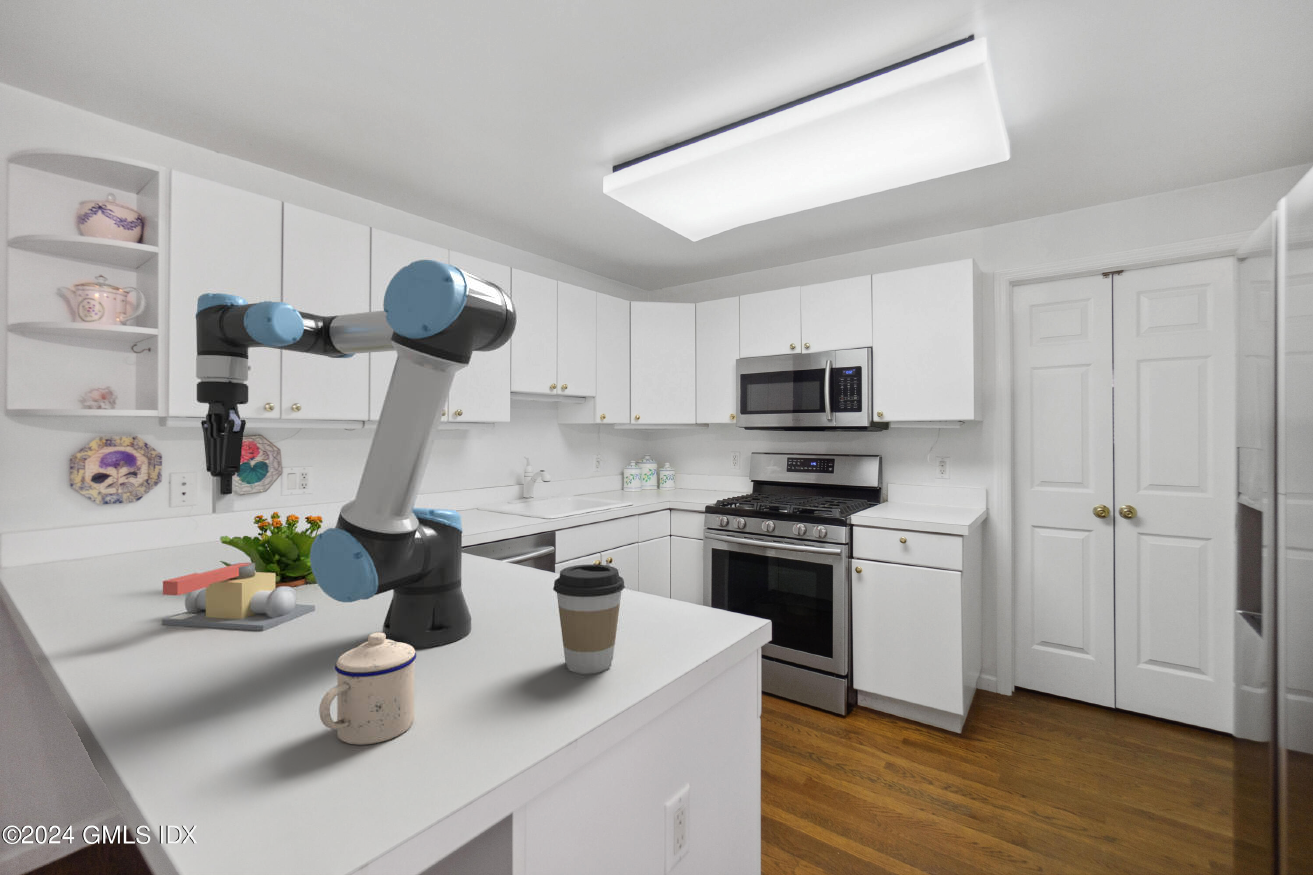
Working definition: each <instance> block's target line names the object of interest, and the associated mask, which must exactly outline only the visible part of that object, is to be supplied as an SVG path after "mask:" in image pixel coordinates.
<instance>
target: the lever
mask: <svg viewBox="0 0 1313 875" xmlns="http://www.w3.org/2000/svg"><path fill="white" fill-rule="evenodd" d="M255 572H256V571H255V563H251V562H241V563H240V562H239V563H233V564H232V563H231V565H229V566H224V567H220V568H215V569H212V570H208V571H204V572H200V573H199V572H194V573H191V574H190V573H189V574H186V575H183V576H178V577H173V578H170V579H166V580H163V581H162V596H163V595H164V596H182V595H184V594H188V592H192V591H196V590H199V589H203V588H206V587H209V584H211V583H215V582H219V581H222V580H226V579H230V580H239V579H247V578H251V577H254V576H255Z"/></svg>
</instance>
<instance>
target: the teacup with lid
mask: <svg viewBox="0 0 1313 875" xmlns="http://www.w3.org/2000/svg"><path fill="white" fill-rule="evenodd" d="M416 658H417V653H416V650H415V648H413V647H412V646H410V645H408V644H406V643H400V642H395V641H392V640H389V639H386V635H385V634H384V633H382V632H373V633H371V634H369V635H368V637H367V641H365V642H363V643H361V644H360V645H359V646H357V647H354V648H352V649H350V650H347V651H346V652H344V653H343V654H342V655H340V656H339V657H338V659H337V661H336V663H335V665H334V670H335V671H336V674H337V675H336V681H337V685H334V686H333V687H331V688H330V689H329V690H328V691H327V692H326V693H325V694H324V696H323V697H322V699H321V700H320V702H319V703H320V704H319V707H318V709H319V710H318V714H319V719H320V720H321V723H322V724H323V725H324V727H326V728H327V729H331V730H337V731H336V732H337V737H338V739H340V741H342V742H344V743H346V744H350V745H356V746H364V745H365V746H366V745H373V744H379V743H382V742H386V741H389V740H392V739H394V738H397V737H399V736H401V735H402V734H404V733H405V732H406V731H408V730H409V729H410V728H411V726H412V725H413V723H414V721H415V660H416ZM336 697H337V700H336V701H337V704H336V706H337V707H336V708H337V709H336V711H337V713H336V714H337V716H336V720H337V721H334V719H332V716H331V705H332V702H333V700H334V699H335V698H336Z"/></svg>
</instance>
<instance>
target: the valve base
mask: <svg viewBox="0 0 1313 875" xmlns="http://www.w3.org/2000/svg"><path fill="white" fill-rule="evenodd" d="M275 574H276V573H262V572H256V571H255V576H254V577H251V578H247V579H239V580H230V579H226V580H222V581H219V582H215V583H211V584H209V587H206V588H203V589H199V590H196V591H192V592H188V593H186V596H185V600H184V606H185V607H184V608H185V610H186V611H184V612H182V613H181V612H180V613H178V614H175V615H172V616H169V617H165V618H162V620H161V622H162V626H163V625H165V626H166V625H167V626H182V627H195V628H196V627H197V628H210V629H211V628H214V629H227V630H228V629H231V630H243V631H245V630H246V631H256V632H257V631H261V632H263V631H266V630H269V629H272V628H273V627H274V628H275V627H276V626H279V625H281V624H283V623H286V622H288V621H289V622H290V621H291V620H294V619H297V618H299V617H301V616H304V615H306V614H309V613H311V612H313V611H315V610H316V605H313V604H297V600H298V598H297V593H296V591H295V589H294V587H286V586H280V587H277V588H275Z"/></svg>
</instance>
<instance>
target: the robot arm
mask: <svg viewBox="0 0 1313 875" xmlns="http://www.w3.org/2000/svg"><path fill="white" fill-rule="evenodd" d="M382 304H383V305H382V306H383V310H376V311H374V310H373V311H366V312H357V313H348V314H347V313H345V314H341V315H329V316H328V315H327V316H325V315H318V314H314V313H309V312H304V311H301V310H298V309H296V308H295V307H293V306H292V305H291V304H289V303H287V302H283V301H271V300H264V301H260V302H255V303H249V302H248V300H246V299H245V298H244V297H242V296H237V295H235V294H234V295H233V294H228V293H220V292H219V293H213V292H212V293H211V292H210V293H209V292H207V293H203V294H201V295H200V296H198V298H197V304H196V306H197V309H196V313H195V320H196V322H195V327H196V329H195V330H196V332H195V334H196V357H195V358H196V359H195V361H196V363H195V378H197V379H198V380H200V381H198V382H197V383H196V401H197V403H200V404H207V405H208V410H207V413H206V414H205V420H204V419H202V420H201V422H200V424H201V429H202V432H203V443H204V444H203V445H204V455H205V464H206V465H205V466H206V472H207V473H210V476H211V478H212V479H211V485H212V487H211V498H212V499H211V504H212V505H211V513H212V514H223V513H234V512H235V511H234V510H235V508H234V506H235V503H234V501H235V500H234V499H235V498H234V496H235V494H234V491H235V490H234V488H235V487H234V484H235V483H234V482H235V478H234V477H235V476H236V474H237V473H240V471H241V459H242V450H243V440H244V439H243V438H244V432H245V428H246V425H247V421H246V420H245V419H241V416H240V413H239V406H238V405H247V404H248V403H249V385H248V384H246V383H245V382H247V381H248V380H249V371H251V369H252V366H251V365H249V349H250V348H270V349H275V350H276V349H277V350H283V351H290V352H297V353H303V354H304V353H305V354H311V355H318V356H324V357H327V358H330V359H331V358H332V359H350V358H352V357H353V356H355V355H356V354H368V353H381V352H384V353H385V352H396V354H397V356H396V360H395V364H394V367H393V370H392V374H391V376H390V380H389V383H388V387H387V390H386V394H385V397H384V400H383V404H382V407H381V411H380V414H379V418H378V421H377V424H376V427H375V431H374V434H373V437H372V440H371V441H372V442H371V444H370V447H369V451H368V455H367V458H366V461H365V464H364V468H363V472H362V475H361V478H360V481H359V484H358V488H357V490H356V491H357V492H356V494H355V495H356V496H355V498H354V499H353V500H351V501H349V502H347V503H345V504H343V505H342V506H341V508H340V511H339V515H338V518H337V520H336V524H335V527H329V528H327V529H325V530H323V531H322V532H320V533H321V534H320V533H318V534H319V535H318V534H317V535H318V536H317V537H316V538H315V540H314V542H313V544H312V547H311V552H310V563H311V569H312V572H313V575H314V576H315V578H316V582H317V583H316V584H317V585H318V586H319V587H320V589H321V590H322V592H324V594H325V595H327V596H328V597H330V598H332V599H333V600H334V601H337V602H340V603H353V602H356V601H361V600H369V599H371V598H373V597H374V596H377V595H380V594H384V593H386V592H390V591H393V592H392V599H391V601H390V604H389V606H388V609H387V613H386V616H385V618H384V622H383V625H382V632H381V633H384V634H385V635H386V639H389V640H392V641H395V642H400V643H406V644H408V645H410V646H412V647H413V648H414V649H420V648H421V649H422V648H429V647H437V646H441V645H445V644H449V643H452V642H456V641H458V640H461V639H462V638H465V637H466V636H467V635H469V634H470V633H471V631H472V615H471V614H470V610H469V607H468V604H467V602H466V599H465V596H464V593H463V589H462V565H463V564H462V560H463V559H462V558H463V557H462V554H463V553H462V549H463V548H462V547H463V546H462V543H463V542H462V540H463V539H462V538H463V536H462V535H463V532H464V531H463V528H462V517H461V514H460V512H458V511H457V510H455V509H445V508H442V509H441V508H425V507H424V508H423V507H422V508H421V507H415V503H416V500H417V497H418V494H419V491H420V488H421V484H422V481H423V478H424V475H425V471H426V468H427V464H428V461H429V459H430V455H431V452H432V449H433V447H434V442H435V439H436V436H437V433H438V429H439V426H440V423H441V422H442V417H443V413H444V411H445V407H446V404H447V402H448V399H449V398H448V397H449V395H450V390H451V387H452V385H453V381H454V379H455V375H456V373H457V372H458V371H460V370H462V369H464V368H467V367H468V366H469V365H470V363H471V362H470V361H471V358H472V355H473V352H491V351H495V350H497V349H500V348H501V347H503V346H504V345H505V344H507V343H508V342H509V340H511V338H512V336H513V334H514V332H515V330H516V325H517V312H516V310H517V309H516V307H515V304H514V302H513V300H512V299H511V297H510V296H509V294H508V293H507V292H506V291H505V290H504V289H502V287H500V286H499V285H497V284H495V283H494V282H492V281H488V280H485V279H483V278H480V277H478V276H476V275H474V274H471V273H470V272H467V271H465V270H463V269H461V268H459V267H456V266H453V265H452V264H447V263H444V262H440V261H437V260H433V259H419V260H414V261H413V262H410V263H409V264H408V265H405V266H403V267H402V268H400V269H399V270H398V271H397V272H396V273H395V274H394V276H392V278H391V280H390V281H389V283H388V285H387V287H386V290H385V293H384V297H383V303H382Z"/></svg>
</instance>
